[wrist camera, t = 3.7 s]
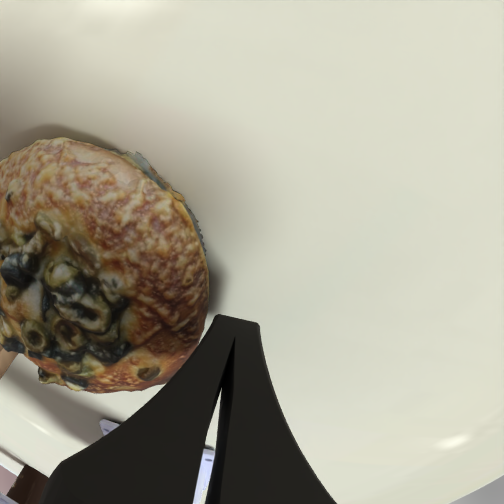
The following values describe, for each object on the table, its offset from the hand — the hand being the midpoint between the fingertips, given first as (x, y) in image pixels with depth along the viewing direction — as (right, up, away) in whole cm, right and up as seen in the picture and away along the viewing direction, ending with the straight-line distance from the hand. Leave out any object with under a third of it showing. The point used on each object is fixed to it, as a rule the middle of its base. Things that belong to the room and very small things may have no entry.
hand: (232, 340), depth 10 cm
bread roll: (-6, +3, +1) cm, 7 cm away
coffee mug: (-40, -40, +29) cm, 63 cm away
